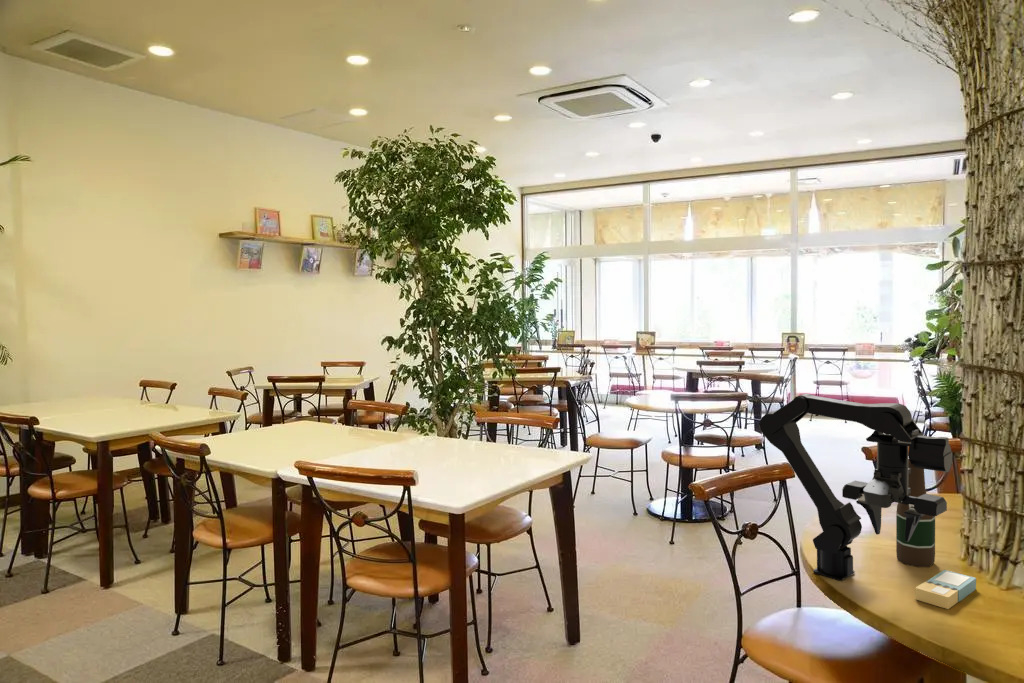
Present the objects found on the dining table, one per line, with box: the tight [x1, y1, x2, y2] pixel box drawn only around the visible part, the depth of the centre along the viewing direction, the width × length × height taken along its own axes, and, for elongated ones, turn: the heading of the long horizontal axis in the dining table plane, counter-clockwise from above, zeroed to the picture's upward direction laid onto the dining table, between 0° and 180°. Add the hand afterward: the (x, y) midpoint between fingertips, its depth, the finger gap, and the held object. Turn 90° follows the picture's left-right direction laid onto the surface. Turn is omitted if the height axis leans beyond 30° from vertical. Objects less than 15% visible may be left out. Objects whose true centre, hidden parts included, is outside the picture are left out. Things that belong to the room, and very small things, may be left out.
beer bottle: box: [895, 458, 936, 568], centre depth 159 cm, size 8×8×24 cm
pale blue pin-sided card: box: [926, 569, 977, 603], centre depth 144 cm, size 6×9×2 cm, turn 128°
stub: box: [914, 580, 958, 610], centre depth 139 cm, size 6×5×2 cm
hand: (892, 537), depth 145 cm, fingers open, 6 cm apart
